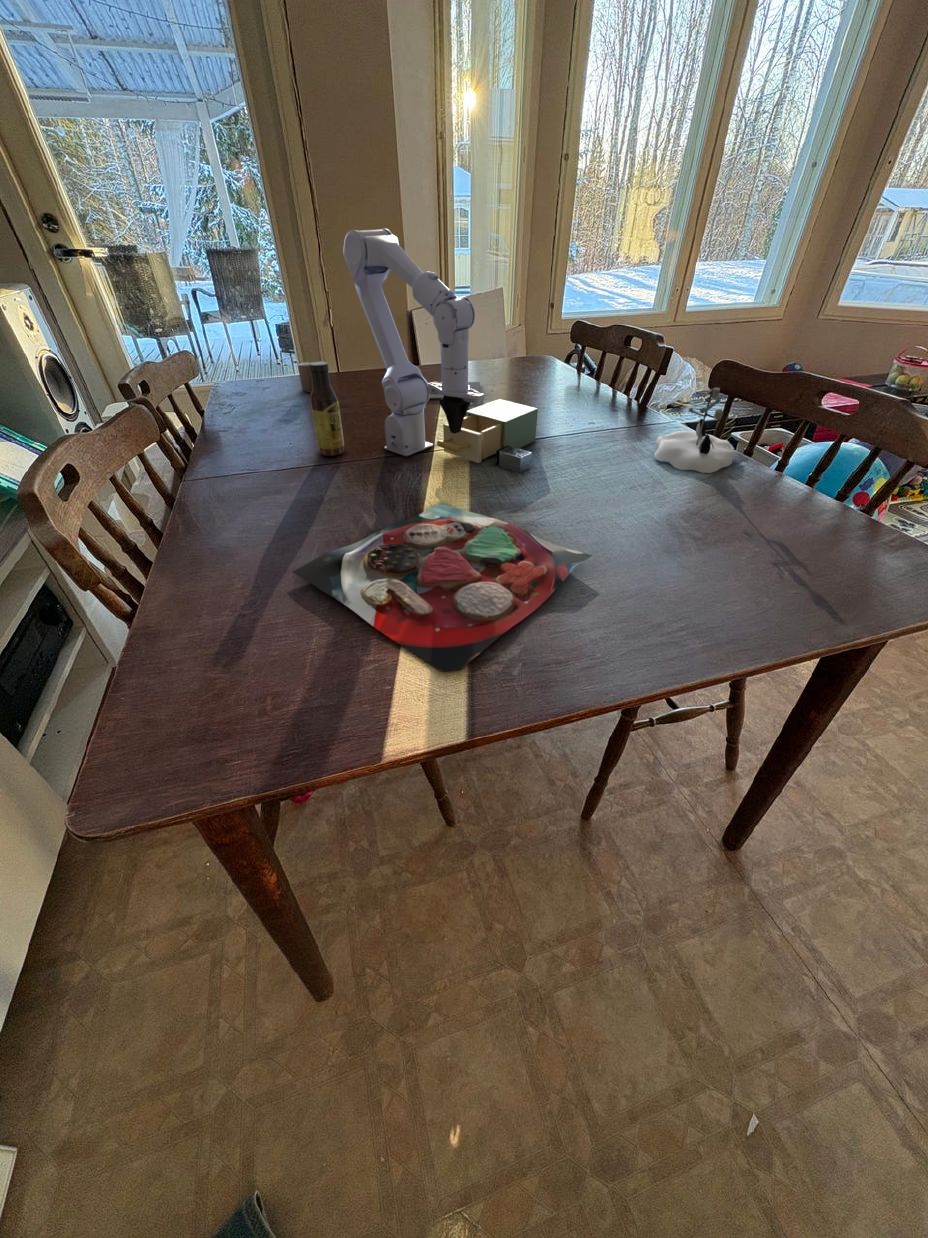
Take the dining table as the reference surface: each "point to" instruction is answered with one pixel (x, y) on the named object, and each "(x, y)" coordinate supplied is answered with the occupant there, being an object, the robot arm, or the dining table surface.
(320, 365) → the sauce bottle
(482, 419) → the drawer
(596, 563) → the dining table surface
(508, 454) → the grey framed box
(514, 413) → the cabinet
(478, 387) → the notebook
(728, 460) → the figurine
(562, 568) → the platter
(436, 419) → the dining table surface
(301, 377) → the wooden block
